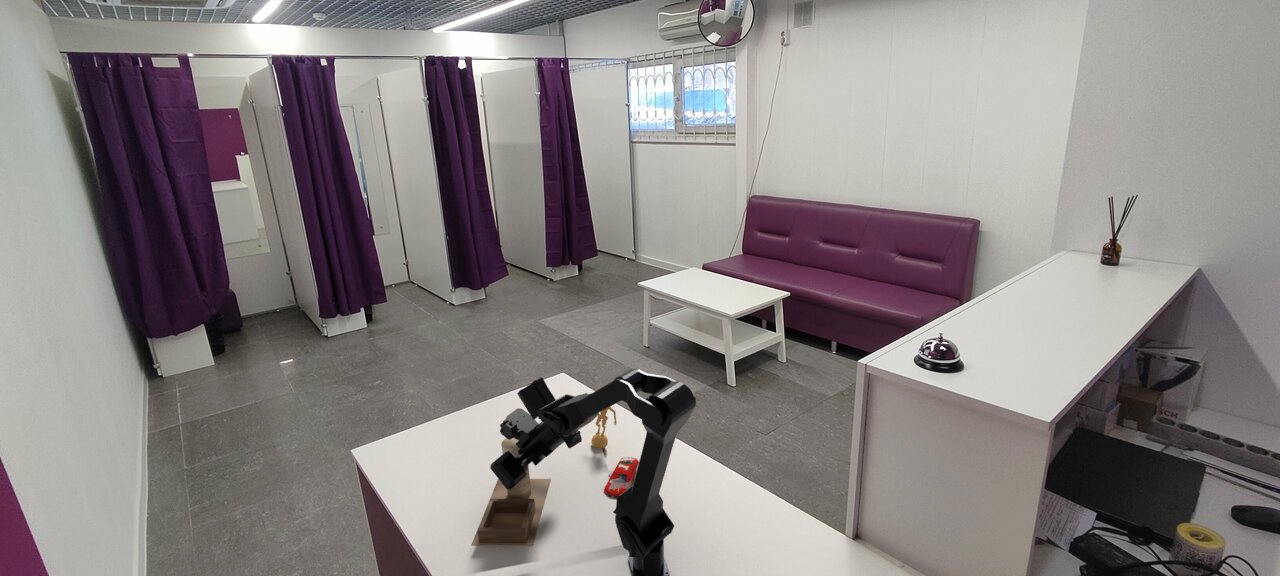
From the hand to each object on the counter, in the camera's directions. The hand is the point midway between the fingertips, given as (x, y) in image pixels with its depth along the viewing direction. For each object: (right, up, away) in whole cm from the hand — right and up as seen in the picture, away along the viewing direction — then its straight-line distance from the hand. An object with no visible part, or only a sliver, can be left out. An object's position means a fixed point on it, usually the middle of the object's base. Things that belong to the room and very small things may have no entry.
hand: (511, 467), depth 125 cm
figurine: (+18, -1, +19) cm, 27 cm away
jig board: (+1, -9, -3) cm, 9 cm away
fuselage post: (+1, -6, +1) cm, 7 cm away
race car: (+24, -6, +6) cm, 25 cm away
